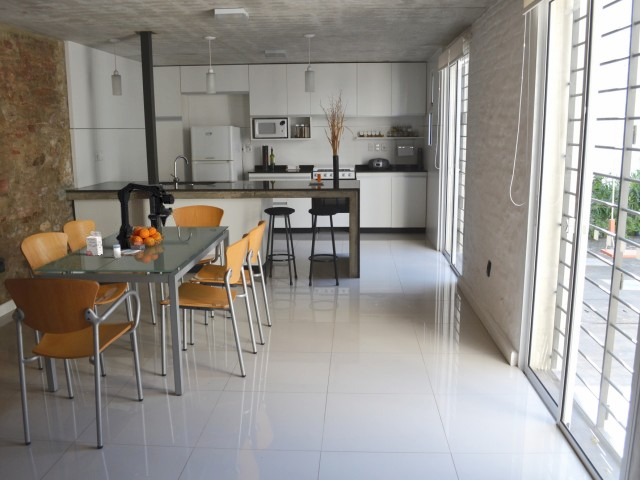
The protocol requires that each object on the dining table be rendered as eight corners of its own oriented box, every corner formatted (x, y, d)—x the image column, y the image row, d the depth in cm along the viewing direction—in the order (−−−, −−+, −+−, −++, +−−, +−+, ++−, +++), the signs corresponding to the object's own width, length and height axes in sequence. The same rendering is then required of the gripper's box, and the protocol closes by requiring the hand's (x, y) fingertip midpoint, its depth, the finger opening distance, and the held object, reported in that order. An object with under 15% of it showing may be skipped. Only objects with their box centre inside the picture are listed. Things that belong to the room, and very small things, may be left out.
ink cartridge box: (87, 255, 385) (84, 232, 382) (92, 253, 390) (90, 231, 387) (98, 255, 382) (96, 232, 379) (103, 254, 387) (101, 231, 384)
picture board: (112, 255, 382) (112, 253, 382) (124, 250, 396) (124, 249, 395) (132, 256, 379) (132, 254, 379) (144, 251, 392) (144, 249, 392)
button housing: (131, 250, 396) (130, 246, 395) (136, 248, 402) (136, 244, 401) (139, 250, 394) (139, 246, 394) (145, 249, 400) (144, 244, 400)
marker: (112, 258, 374) (111, 245, 372) (116, 256, 378) (115, 244, 376) (118, 258, 373) (117, 245, 371) (122, 257, 377) (121, 244, 375)
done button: (133, 247, 396) (132, 242, 396) (136, 245, 400) (136, 241, 400) (139, 247, 395) (138, 243, 395) (142, 246, 399) (142, 241, 399)
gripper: (162, 206, 380) (164, 230, 383) (176, 202, 398) (178, 225, 401) (146, 205, 383) (148, 230, 386) (161, 202, 401) (163, 225, 404)
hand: (160, 227), depth 394 cm, fingers open, 9 cm apart
